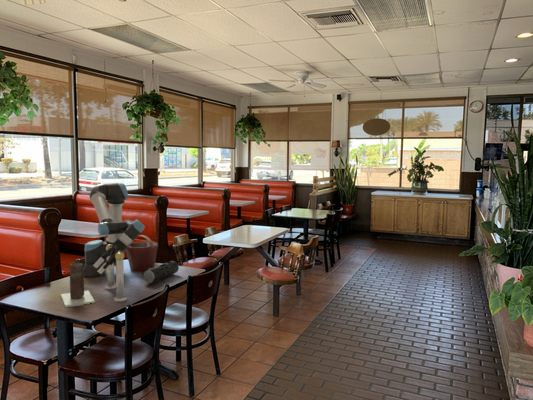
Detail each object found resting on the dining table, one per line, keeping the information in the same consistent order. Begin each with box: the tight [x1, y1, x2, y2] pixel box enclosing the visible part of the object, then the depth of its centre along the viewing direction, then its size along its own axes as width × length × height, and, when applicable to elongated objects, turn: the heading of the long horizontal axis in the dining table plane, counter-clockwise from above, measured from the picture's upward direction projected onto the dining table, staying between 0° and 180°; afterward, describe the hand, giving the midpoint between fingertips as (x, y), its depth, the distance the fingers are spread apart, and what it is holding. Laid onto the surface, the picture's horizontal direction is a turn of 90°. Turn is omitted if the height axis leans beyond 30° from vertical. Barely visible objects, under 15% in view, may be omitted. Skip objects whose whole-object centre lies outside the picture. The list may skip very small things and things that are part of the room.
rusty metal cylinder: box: [69, 262, 85, 299], centre depth 241 cm, size 8×7×20 cm
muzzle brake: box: [142, 260, 179, 284], centre depth 284 cm, size 10×28×10 cm, turn 158°
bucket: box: [125, 234, 159, 273], centre depth 309 cm, size 24×22×25 cm
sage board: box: [60, 290, 96, 308], centre depth 242 cm, size 15×22×1 cm
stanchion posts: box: [104, 244, 128, 303], centre depth 252 cm, size 7×33×28 cm, turn 32°
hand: (96, 269), depth 246 cm, fingers open, 13 cm apart
